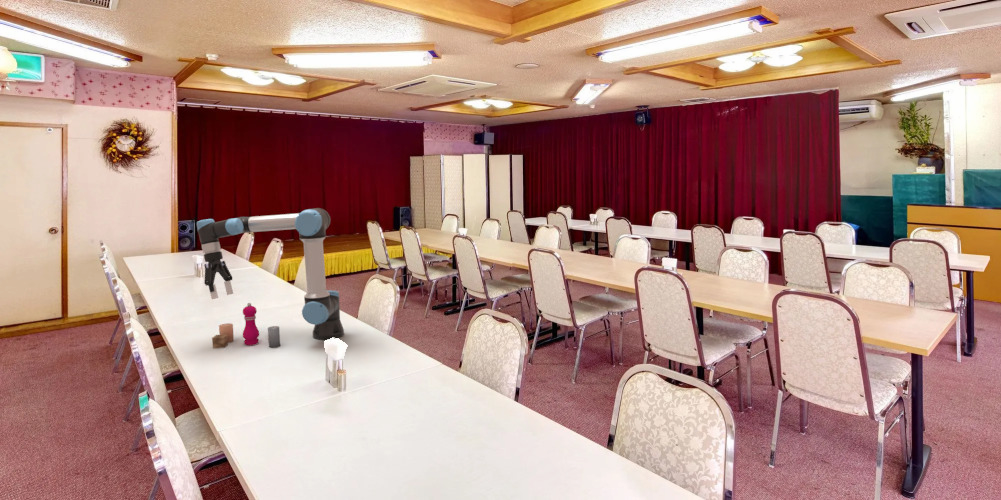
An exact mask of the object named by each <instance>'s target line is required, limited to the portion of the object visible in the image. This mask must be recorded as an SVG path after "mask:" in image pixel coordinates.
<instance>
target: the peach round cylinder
mask: <svg viewBox="0 0 1001 500" xmlns="http://www.w3.org/2000/svg"><path fill="white" fill-rule="evenodd" d="M218 333H219V334H218V335H228V344H229V343H233V342H234V340H235V339H234V338H235V337H234V336H235V335H234V324H233V323H222V324H219V325H218Z"/></svg>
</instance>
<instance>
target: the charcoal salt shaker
mask: <svg viewBox="0 0 1001 500" xmlns="http://www.w3.org/2000/svg"><path fill="white" fill-rule="evenodd" d="M280 331H281V329H280V326H278V325H273V326H268V327H267V337H268V348H271V349H272V348H273V349H274V348H275V349H276V348H279V347H281V333H280Z"/></svg>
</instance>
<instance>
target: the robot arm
mask: <svg viewBox="0 0 1001 500" xmlns="http://www.w3.org/2000/svg"><path fill="white" fill-rule="evenodd" d="M330 225H331V216H330V214H329V213H328V211H326V210H325V209H323V208H320V207H316V208H314V207H313V208H308V209H304V210H302V211H301V212H297V213H285V214H284V213H283V214H282V213H281V214H270V215H260V216H259V215H255V216H239V217H235V218H228V219H224V220H221V221H215V220H214V219H213V218H208V219H207V218H206V219H201V220H199V221H196V228H197V229H196V230H197V233H198V236H199V241H200V244H201V249H202V253H203V258H204V262H205V264H204V266H203V267H204V285H205V286H208V289H209V294H210V298H211V300H215V299H218V298H219V295H218V291H217V286H216V284H215V279H216V275H217V273H218V274H219V275H220V276H221V278H222V279H223V281H224V283H223V284H224V288H225V292H226V296H229V295H232V294H233V295H234V291H233V287H232V282H231V281H233V276H232V274H231V272H230V269H229V268H228V266H227V264H226V261H225V260H223V252H222V251H221V250H222V248H221V244H220V240H219V239H220V238H225V237H230V236H235V235H236V236H237V235H239V234H243V233H244V234H245V233H257V232H270V231H284V230H286V231H287V230H296V231H297V232H298V234H299V240H300V241H301V242H302V243H303V255H304V265H305V268H304V269H305V277H306V290H307V291H306V293H305V294H304V305H303V307H302V310H301V315H302V317H303V319H304V320H305V321H306V322H307V324H308V323H309V324H310V325H314V327H313V330H312V337H313V339H316V340H329V339H328V338H332V337H337V338H336V339H339V338H341V337H342V336H344V335H345V329H344V327H343V324H342V322H341V315H340V314H341V311H340V309H341V308H340V292H339V291H338V290H333V289H331V290H330V289H329V290H328V289H327V281H326V269H325V268H326V266H325V256H324V255H325V254H324V253H325V252H324V240H325V239H326V237H327V236H326V235H327V233H326V230H327V229H328V228H329V226H330ZM221 260H222V261H221ZM207 262H208V263H207Z"/></svg>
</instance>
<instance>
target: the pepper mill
mask: <svg viewBox="0 0 1001 500" xmlns="http://www.w3.org/2000/svg"><path fill="white" fill-rule="evenodd" d="M257 312H258V311H257V308H256V306H253V305H252V303H251V302H248V303H247V305H246V306H245V307H243V309H242V314H243V316H244V317H243V319H244V321H245V326H244V328H243V332H242V338H243V339H244V340H243V342H244V343H243V344H244V345H245V346H254V345H257V344H259V338H258V337H260V331H259V328H258V327H257V325H256V319H257V317H256V316H257V315H256V314H257Z"/></svg>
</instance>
